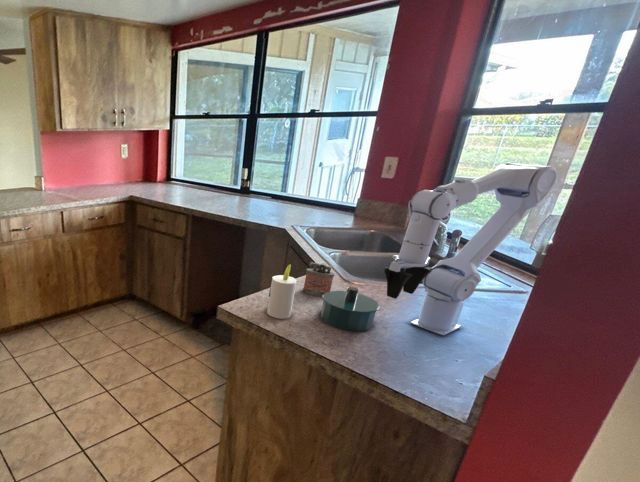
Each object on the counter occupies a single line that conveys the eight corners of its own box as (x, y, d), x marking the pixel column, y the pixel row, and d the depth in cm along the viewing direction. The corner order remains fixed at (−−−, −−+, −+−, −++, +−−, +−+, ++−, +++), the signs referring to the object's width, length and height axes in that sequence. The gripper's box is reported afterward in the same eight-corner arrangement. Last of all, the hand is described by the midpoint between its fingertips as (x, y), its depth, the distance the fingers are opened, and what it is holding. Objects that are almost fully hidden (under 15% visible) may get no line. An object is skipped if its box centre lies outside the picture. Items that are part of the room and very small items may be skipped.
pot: (338, 306, 119) (342, 289, 117) (381, 324, 109) (386, 305, 107) (311, 316, 113) (314, 298, 111) (353, 335, 103) (358, 316, 101)
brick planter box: (330, 294, 127) (337, 264, 123) (328, 298, 124) (335, 267, 121) (303, 289, 131) (309, 260, 127) (301, 292, 128) (306, 262, 125)
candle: (266, 307, 118) (274, 258, 112) (290, 310, 116) (299, 261, 110) (265, 316, 113) (273, 265, 107) (290, 320, 110) (299, 268, 105)
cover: (341, 290, 117) (344, 276, 116) (389, 308, 107) (393, 292, 105) (311, 300, 111) (314, 285, 109) (358, 319, 100) (363, 303, 99)
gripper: (415, 235, 103) (398, 285, 108) (383, 240, 95) (367, 293, 101) (446, 242, 97) (427, 294, 102) (415, 248, 90) (397, 304, 95)
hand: (399, 294), depth 101 cm, fingers open, 7 cm apart
